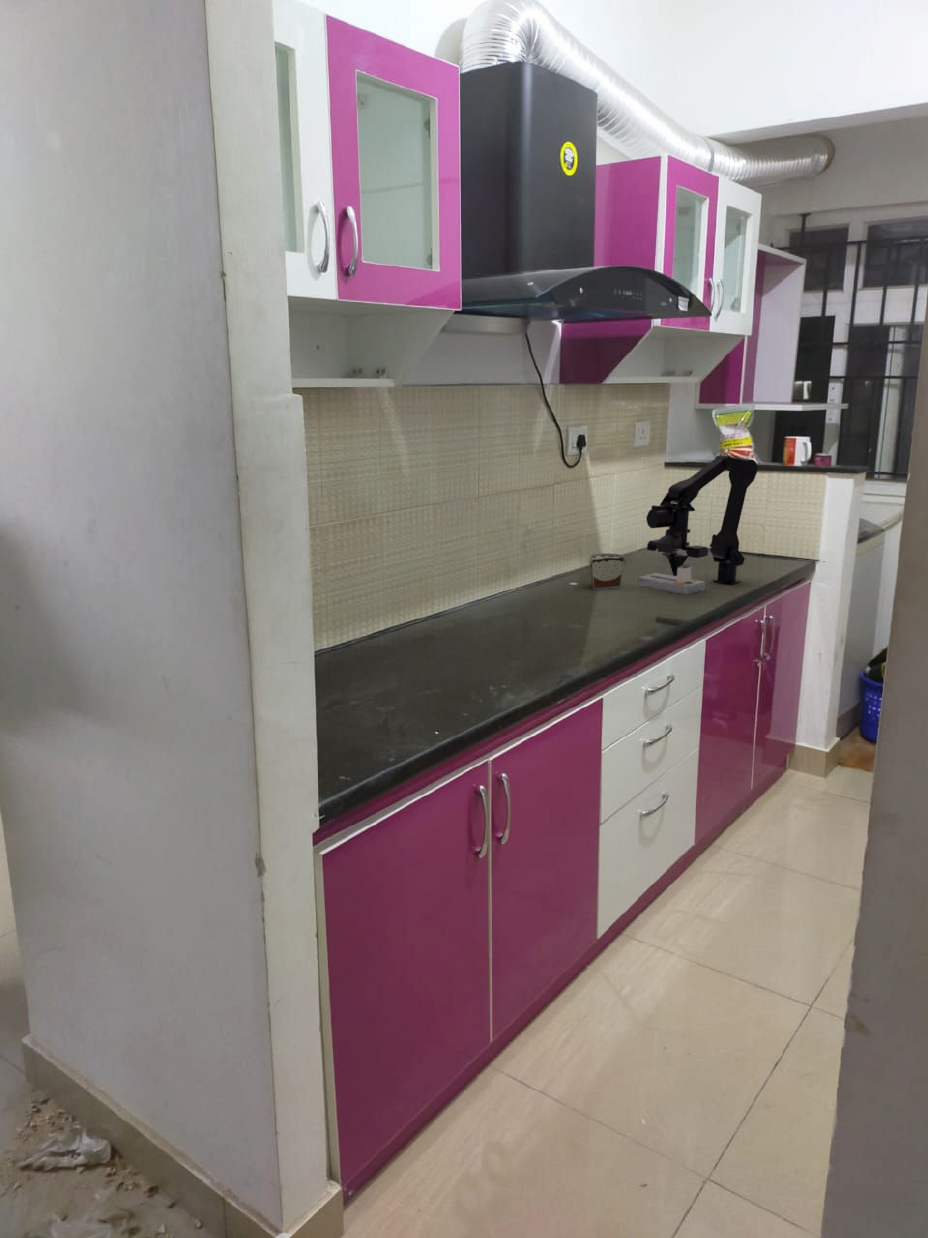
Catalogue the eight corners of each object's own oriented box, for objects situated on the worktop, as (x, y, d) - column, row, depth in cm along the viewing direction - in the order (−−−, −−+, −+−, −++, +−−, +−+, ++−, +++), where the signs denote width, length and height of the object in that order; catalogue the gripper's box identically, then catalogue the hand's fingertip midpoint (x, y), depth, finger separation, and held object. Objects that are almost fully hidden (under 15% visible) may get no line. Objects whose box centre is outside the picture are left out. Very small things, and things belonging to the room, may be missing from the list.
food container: (615, 582, 295) (616, 551, 292) (624, 586, 289) (626, 555, 286) (580, 585, 291) (581, 554, 288) (589, 589, 285) (590, 557, 283)
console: (655, 580, 298) (656, 572, 297) (704, 589, 285) (705, 581, 285) (637, 585, 291) (638, 577, 290) (686, 594, 279) (687, 586, 278)
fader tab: (683, 579, 287) (684, 563, 285) (690, 581, 285) (691, 564, 284) (676, 581, 284) (677, 565, 283) (683, 582, 282) (684, 566, 281)
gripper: (637, 525, 283) (635, 574, 287) (690, 532, 270) (686, 584, 274) (658, 521, 291) (655, 569, 295) (710, 528, 278) (706, 579, 282)
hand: (675, 575), depth 286 cm, fingers closed
